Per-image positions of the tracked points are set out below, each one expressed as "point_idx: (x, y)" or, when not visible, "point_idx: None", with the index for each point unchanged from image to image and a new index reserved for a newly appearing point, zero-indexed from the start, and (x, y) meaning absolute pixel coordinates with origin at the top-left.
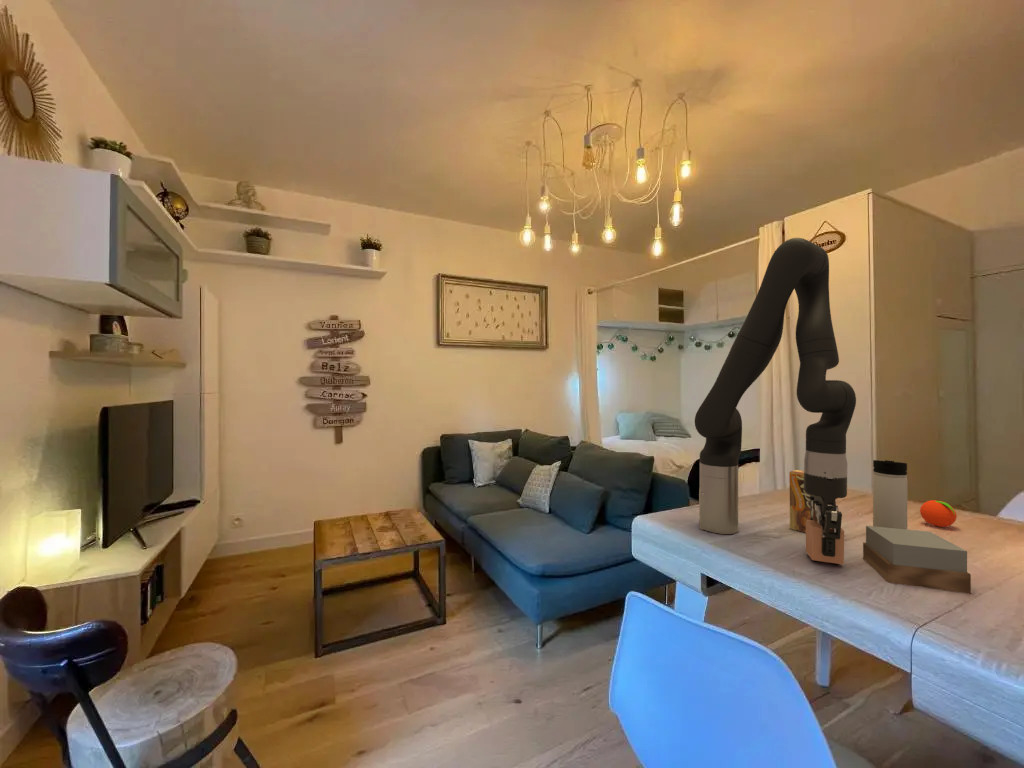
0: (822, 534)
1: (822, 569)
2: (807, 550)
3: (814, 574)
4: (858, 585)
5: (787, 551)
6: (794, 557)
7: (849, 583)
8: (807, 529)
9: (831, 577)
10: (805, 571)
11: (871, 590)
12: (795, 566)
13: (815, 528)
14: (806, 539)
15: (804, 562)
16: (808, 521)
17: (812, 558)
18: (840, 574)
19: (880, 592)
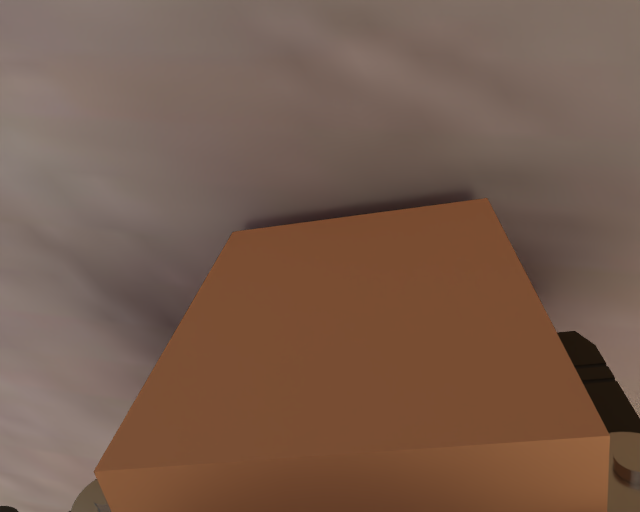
0: (95, 503)
1: (169, 277)
2: (408, 218)
3: (14, 215)
4: (28, 429)
5: (493, 17)
6: (334, 83)
7: (21, 393)
8: (446, 345)
9: (45, 313)
10: (28, 157)
11: (3, 471)
12: (87, 84)
13: (115, 492)
14: (475, 257)
15: (246, 162)
16: (464, 457)
17: (228, 240)
18: (150, 370)
19: (10, 501)
